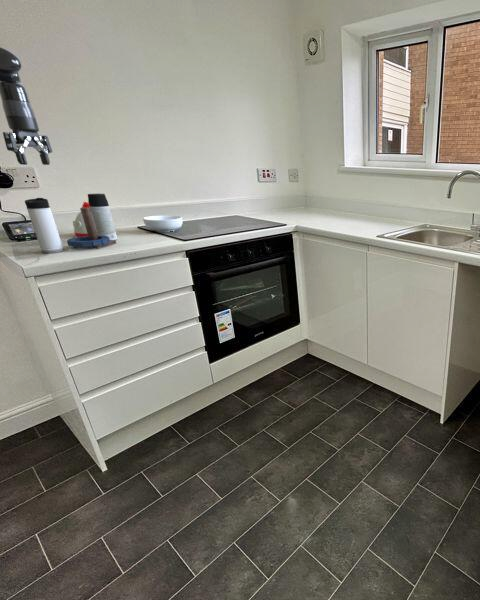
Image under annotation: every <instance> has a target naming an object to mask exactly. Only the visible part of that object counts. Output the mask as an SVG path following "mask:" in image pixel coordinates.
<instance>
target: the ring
mask: <svg viewBox="0 0 480 600" xmlns="http://www.w3.org/2000/svg"><path fill="white" fill-rule="evenodd" d="M109 242H110V239H109V237H108V236H98V240H90V241H89V237H88V236H83V237H77V236H75V237H72V238H68V239H67V240H66V243H67V246H68V247H88V246H97V245H102V244H103V245H104V244H107V243H109Z"/></svg>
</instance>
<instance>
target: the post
mask: <svg viewBox="0 0 480 600" xmlns="http://www.w3.org/2000/svg"><path fill="white" fill-rule="evenodd" d="M79 209H80V212H81V213H82V217H83V220H84V224H85V227H86V230H87V234H88V237H89V241H90V240H98V236H97V232H96V229H95V225H94V221H93V218H92V214H91V211H90V208H82V207H80V208H79ZM116 244H117V239H116V240H110V242H109V243H107V244H104V245H103V244H102V245H97V246H88V247H73V249H101V248H104V247H108V246H109V247H110V246H113V245H116Z"/></svg>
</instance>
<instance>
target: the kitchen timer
mask: <svg viewBox="0 0 480 600" xmlns="http://www.w3.org/2000/svg"><path fill="white" fill-rule="evenodd" d="M81 208H90V206H89V203H88V201H87V202H86V201H83V202H82V205H81ZM90 211H91V210H90ZM92 218H93V217H92ZM72 225H73V231H74V235H75V237H83V236H88V234H87V230H86V227H85V224H84V220H83V217H82V213H81V211H79V212H78V214H77V215H76V217H75V219H74V220H72ZM94 225H95V224H94ZM95 229H96V228H95ZM97 236H98V235H97Z"/></svg>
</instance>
